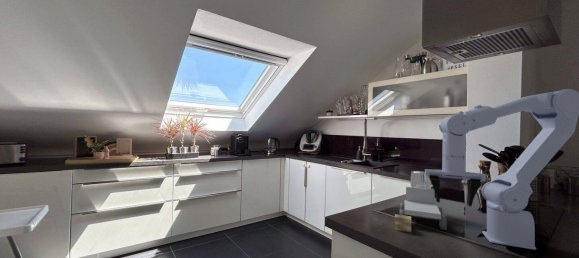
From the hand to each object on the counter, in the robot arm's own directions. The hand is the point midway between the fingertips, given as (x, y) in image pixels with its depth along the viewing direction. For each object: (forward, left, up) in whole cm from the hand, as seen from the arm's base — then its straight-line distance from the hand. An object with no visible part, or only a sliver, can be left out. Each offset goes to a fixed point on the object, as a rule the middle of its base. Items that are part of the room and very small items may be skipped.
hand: (453, 203), depth 71 cm
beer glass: (+7, -22, -10) cm, 25 cm away
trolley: (+8, -9, -9) cm, 15 cm away
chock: (+13, 0, -10) cm, 16 cm away
